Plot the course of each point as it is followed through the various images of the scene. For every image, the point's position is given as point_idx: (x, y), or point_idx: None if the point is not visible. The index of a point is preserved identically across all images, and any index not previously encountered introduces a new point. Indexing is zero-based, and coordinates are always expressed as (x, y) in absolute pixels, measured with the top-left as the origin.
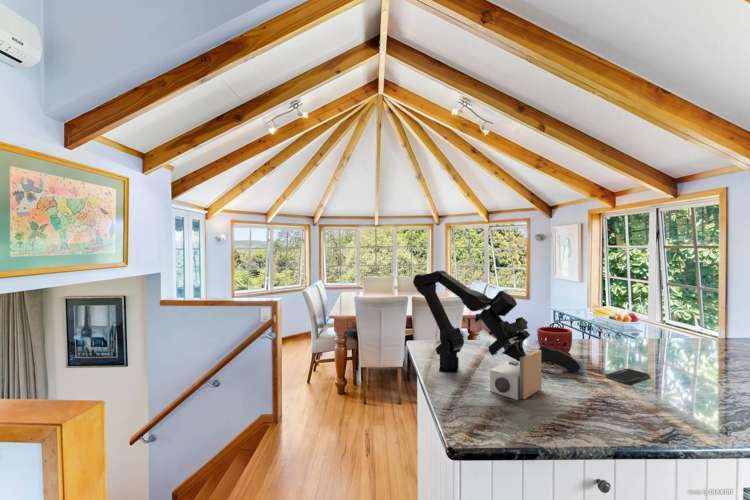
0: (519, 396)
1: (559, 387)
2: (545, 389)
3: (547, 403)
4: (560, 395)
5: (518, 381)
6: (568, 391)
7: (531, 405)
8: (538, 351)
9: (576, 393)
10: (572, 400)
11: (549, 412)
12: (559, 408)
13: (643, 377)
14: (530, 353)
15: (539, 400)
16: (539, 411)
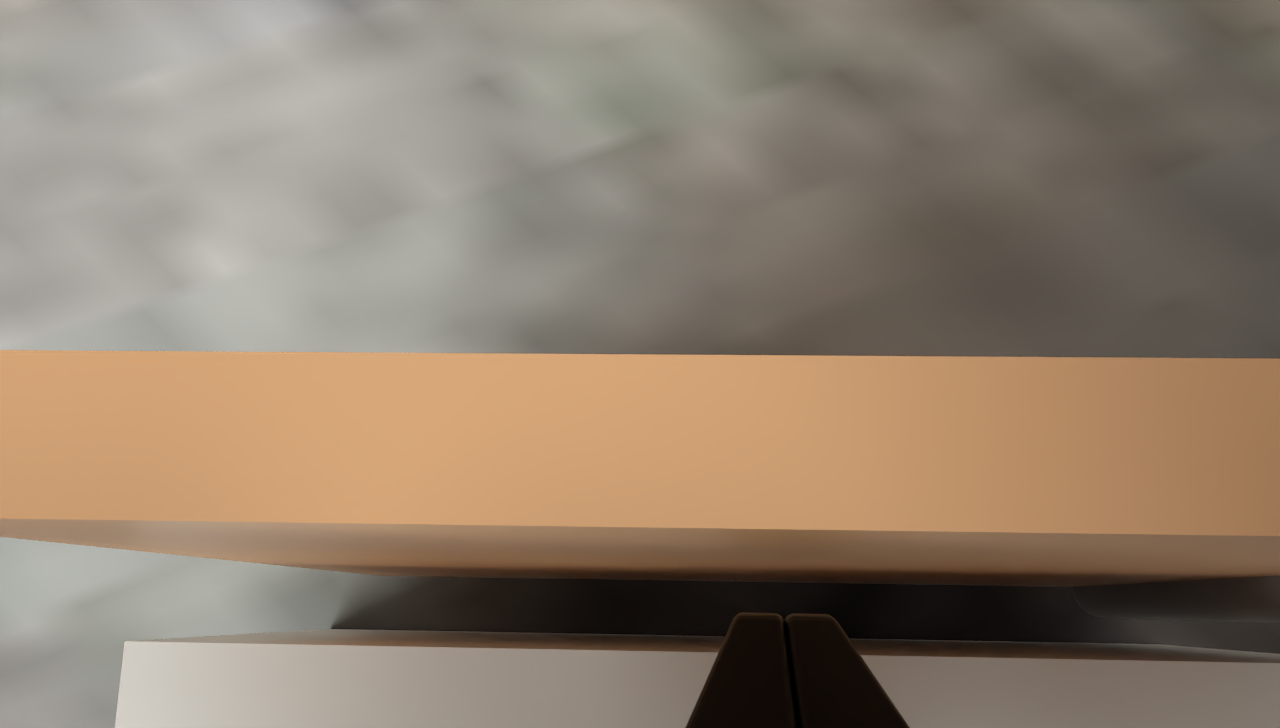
0: (1071, 643)
1: (59, 337)
2: None
3: (880, 228)
4: (408, 203)
5: (1264, 658)
6: (147, 173)
7: None
8: (151, 362)
9: (151, 63)
10: (479, 15)
11: (1172, 89)
12: (918, 43)
13: None
14: (815, 517)
15: None
16: (1264, 200)
